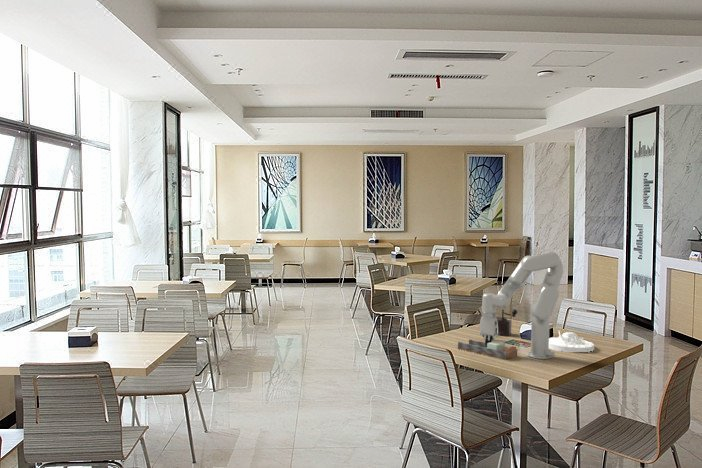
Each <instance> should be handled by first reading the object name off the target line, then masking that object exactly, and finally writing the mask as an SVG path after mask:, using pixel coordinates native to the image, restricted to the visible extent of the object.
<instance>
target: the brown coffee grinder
mask: <svg viewBox="0 0 702 468" xmlns="http://www.w3.org/2000/svg"><path fill="white" fill-rule="evenodd" d="M517 314H518V310H517V309H512V310H511V314H510V313H507V312H505V310H504V309H501V316H500V317H499V318H497V322H498V335H497V336H504V337H510V336H511V335H512V319H508V318H506V317H505V316H504V315H506V316H511V317H512V318H513V317H514V318H515V317H516V315H517Z"/></svg>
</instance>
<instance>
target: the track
mask: <svg viewBox="0 0 702 468" xmlns="http://www.w3.org/2000/svg"><path fill="white" fill-rule="evenodd" d="M457 349H458V350H460V349H461V351H465V350H466V352H469V351H470V353H473V352H474V354H478V353H479V354H478V355H482V354H483V356H486V355H487V356H488V357H491V358H495V359H500V360H504V361H506V360H510V359H513V358H517V357H518V349H517V346H510V347H507V346H505V349H504V352H503V351H498V350H494V349H489V348H487V347H485V341H480V340H476V339H468V343H466V342H461V341H458V342H457Z"/></svg>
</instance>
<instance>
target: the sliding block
mask: <svg viewBox="0 0 702 468" xmlns="http://www.w3.org/2000/svg"><path fill="white" fill-rule="evenodd" d="M505 347H506V342H502V341H497V340H496V341H491V342H490V343H487V348H489V349H494V350H498V351H503V352H504V349H505Z"/></svg>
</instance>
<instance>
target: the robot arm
mask: <svg viewBox="0 0 702 468" xmlns="http://www.w3.org/2000/svg"><path fill="white" fill-rule="evenodd" d="M541 270H546V271H545V274H544V278H543V280H542V283H541V285H540V287H539V290H538V293H539V295H538V298H537V300H535V301H534V302H533V303H532V306H531V313H530V314H531V331H530V332H531V333H530V352H527V356H528V357H530V358H532V359H538V360H539V359H540V360H549V359H551V358H552V357H555V355H556V354H555V352H554V351H551V349H549V338H550V317H551V316H552V314H553V312H554V309H555V307H556V305H557V303H558V299H559V295H560V292H559V286H560V283H561V280H562V277H563V274H564V266H563V263H562V259H561V258H560V256H559V254H558V253H557V252H555V251H553V250H546V251H545V252H543V253H541V254H536V255H535V254H534V255H526V256H524V257H523V258H522V259H521V260H520V262H519V263H518V265H517V266H516V267H515V268H514V271H513V272H512V273H511V275H510V276H509V277H508V279H507V280H506V282H505V283H504V284H503V285H502V287H501V289H500V290H499V291H498V293H497V294H494V293H490V292H487V293H485V292H484V293H483V294H482V299H481V304H482V306H481V317H480V321H479V335H480V336H482V337H483V338H484V339H483V340H484V342H485V347H487V343H490V342H492V341H493V340H494V339H493V338H495V339H497V338H498V336H499V335H498V322H497V319H498V318H497V317H498V314H497V311H496V308H502V309H505V308H507V307H509V306H510V304H511V298H512V297H513V296H514V294H515V293H516V292H517V291H518V289H520V288H522V287H523V285H525V283H526V282H527V280H528V278H529V277H530V276H531V275H532V274H533V272H537V271H541ZM492 339H493V340H492Z"/></svg>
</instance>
